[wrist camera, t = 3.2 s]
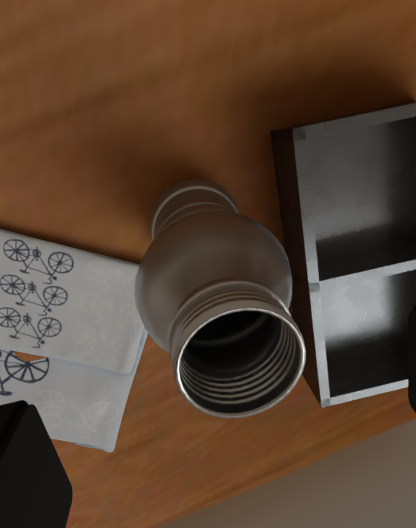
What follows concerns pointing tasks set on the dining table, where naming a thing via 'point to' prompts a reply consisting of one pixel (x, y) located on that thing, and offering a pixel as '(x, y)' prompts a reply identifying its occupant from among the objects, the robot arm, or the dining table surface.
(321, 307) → the divided tray
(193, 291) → the grey stacked bottle
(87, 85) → the dining table surface
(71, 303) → the folded bicycle print cloth
